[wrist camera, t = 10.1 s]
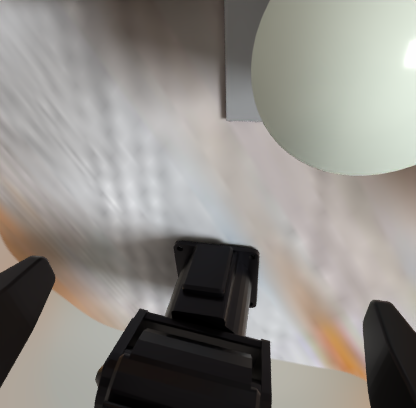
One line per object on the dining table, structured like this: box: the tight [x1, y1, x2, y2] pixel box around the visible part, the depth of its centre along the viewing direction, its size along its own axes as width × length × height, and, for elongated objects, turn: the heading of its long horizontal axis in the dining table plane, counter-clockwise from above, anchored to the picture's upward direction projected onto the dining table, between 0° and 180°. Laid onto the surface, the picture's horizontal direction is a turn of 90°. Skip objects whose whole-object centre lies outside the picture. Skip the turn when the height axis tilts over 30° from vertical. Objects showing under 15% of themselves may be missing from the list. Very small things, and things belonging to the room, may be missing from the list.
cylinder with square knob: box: [251, 0, 416, 176], centre depth 10 cm, size 7×6×9 cm
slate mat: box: [224, 0, 270, 122], centre depth 14 cm, size 10×10×1 cm
